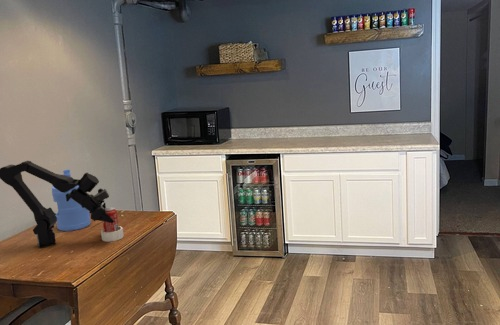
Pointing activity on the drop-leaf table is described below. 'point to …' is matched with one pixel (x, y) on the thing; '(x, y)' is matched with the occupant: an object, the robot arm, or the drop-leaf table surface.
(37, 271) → the drop-leaf table surface
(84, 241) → the drop-leaf table surface
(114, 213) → the beverage can
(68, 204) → the water jug
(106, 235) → the ring
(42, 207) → the robot arm
